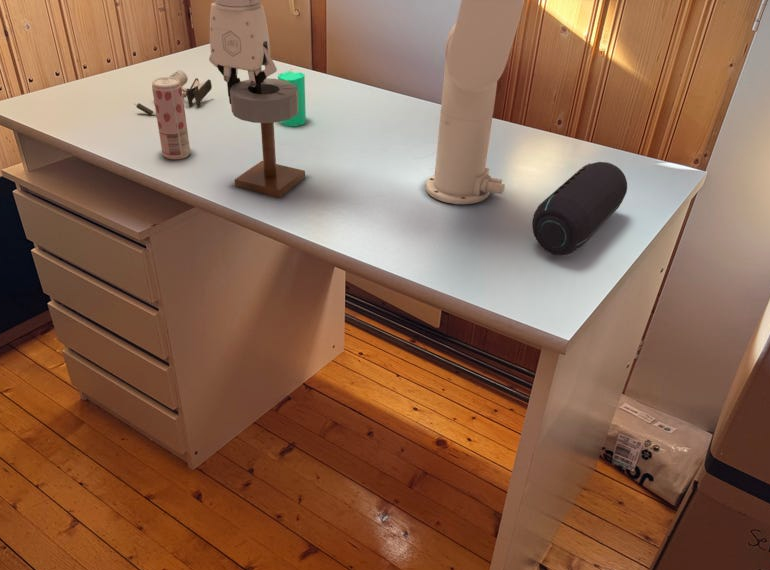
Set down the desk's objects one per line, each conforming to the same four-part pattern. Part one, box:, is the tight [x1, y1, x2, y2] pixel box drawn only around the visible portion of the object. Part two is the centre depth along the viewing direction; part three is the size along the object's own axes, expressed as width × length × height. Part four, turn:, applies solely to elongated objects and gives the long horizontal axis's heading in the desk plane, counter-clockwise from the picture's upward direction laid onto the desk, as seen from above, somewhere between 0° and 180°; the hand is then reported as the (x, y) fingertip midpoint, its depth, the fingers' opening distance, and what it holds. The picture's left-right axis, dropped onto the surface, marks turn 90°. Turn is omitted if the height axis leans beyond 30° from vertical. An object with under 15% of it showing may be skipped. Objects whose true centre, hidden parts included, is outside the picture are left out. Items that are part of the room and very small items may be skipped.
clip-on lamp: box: [133, 69, 213, 116], centre depth 169 cm, size 12×6×18 cm
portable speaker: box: [531, 161, 628, 256], centre depth 125 cm, size 25×10×10 cm, turn 145°
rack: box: [234, 122, 306, 198], centre depth 136 cm, size 10×10×14 cm
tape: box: [230, 77, 298, 124], centre depth 130 cm, size 12×12×4 cm
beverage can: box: [151, 76, 191, 160], centre depth 144 cm, size 6×6×15 cm
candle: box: [277, 70, 307, 127], centre depth 161 cm, size 6×6×12 cm
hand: (245, 103), depth 132 cm, fingers closed on tape, 3 cm apart
